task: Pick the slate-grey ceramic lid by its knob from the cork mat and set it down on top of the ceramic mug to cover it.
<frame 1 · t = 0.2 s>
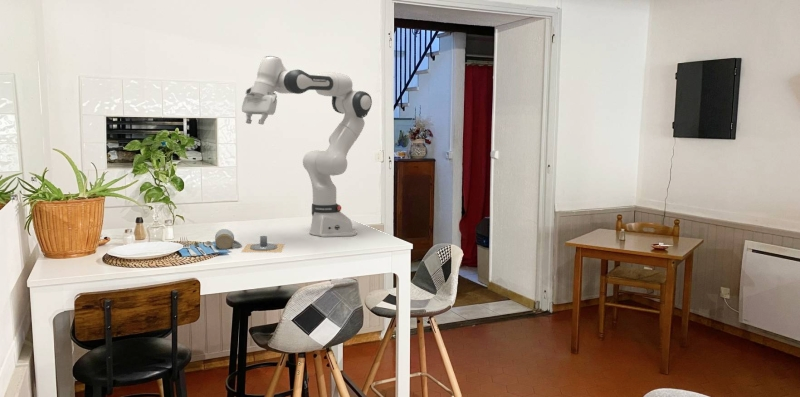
hand: (254, 123, 258), 52 cm above the table, tool tilted 20°, fingers open, 8 cm apart
lid: (263, 247, 255), point 1 cm above the table, touching mat
ceramic mug: (228, 249, 256), on the table
mat: (263, 249, 255), on the table
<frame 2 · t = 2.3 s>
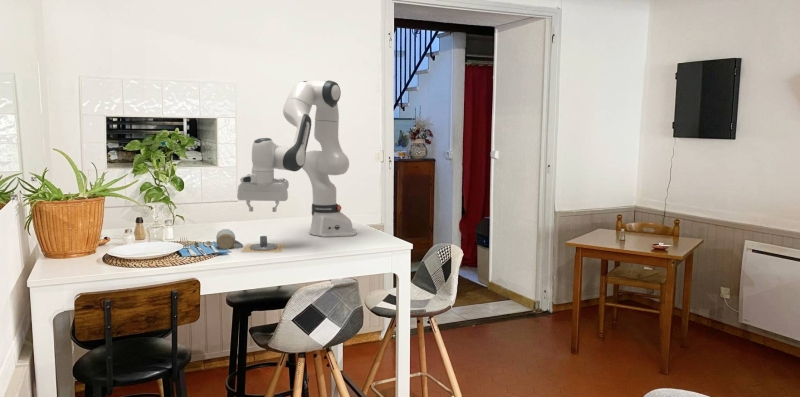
hand: (262, 211, 253), 16 cm above the table, tool pointing down, fingers open, 8 cm apart
nothing on the table moved.
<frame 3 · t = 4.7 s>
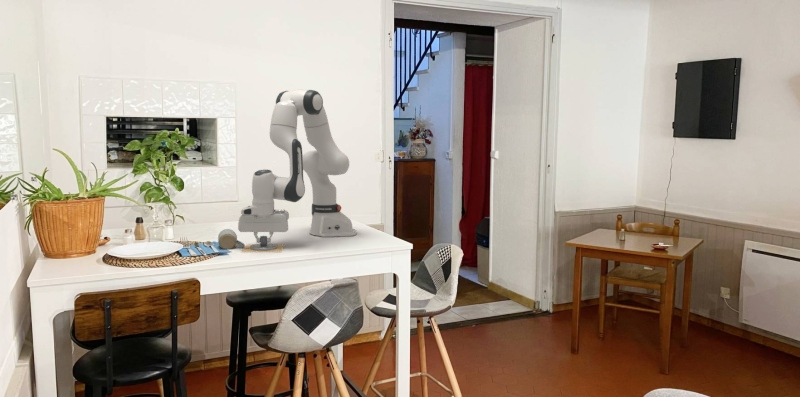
hand: (263, 242, 255), 3 cm above the table, tool pointing down, fingers closed on lid, 3 cm apart
lid: (263, 247, 255), point 1 cm above the table, touching gripper, mat
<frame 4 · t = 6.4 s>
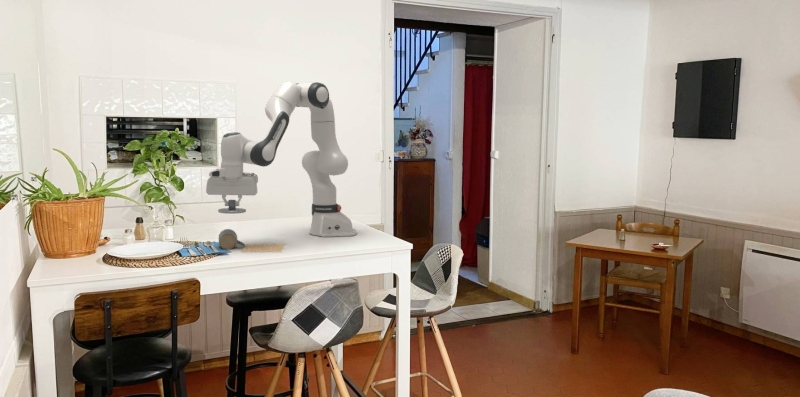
hand: (232, 205, 253), 18 cm above the table, tool pointing down, fingers closed on lid, 3 cm apart
lid: (232, 211, 253), point 16 cm above the table, touching gripper
ceramic mug: (231, 248, 256), on the table, touching mat
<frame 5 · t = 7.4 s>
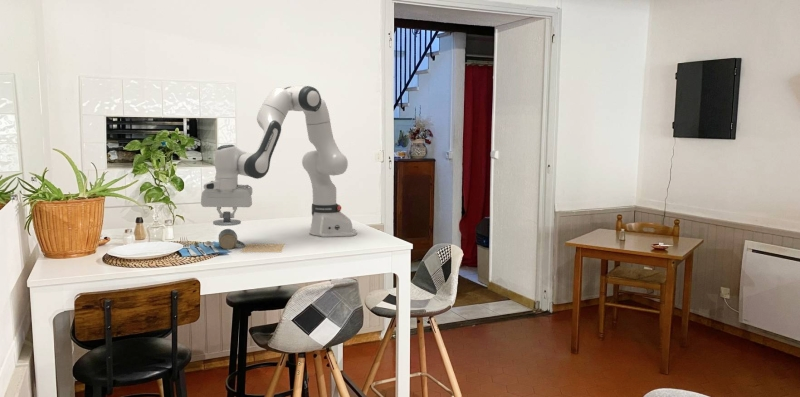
hand: (226, 217, 254), 13 cm above the table, tool pointing down, fingers closed on lid, 3 cm apart
lid: (227, 223, 254), point 11 cm above the table, touching gripper
everything else where it was.
when the fingers open (12 cm above the table, at t = 8.2 s): lid drops 2 cm, resting on ceramic mug.
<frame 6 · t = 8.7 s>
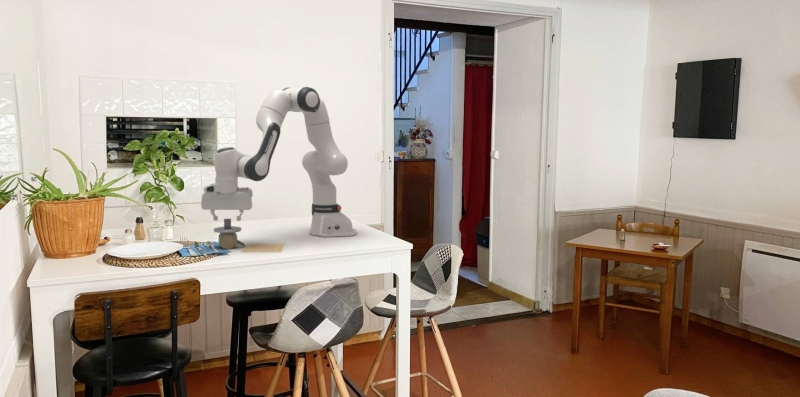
hand: (227, 220, 254), 12 cm above the table, tool pointing down, fingers open, 8 cm apart
lid: (227, 230, 255), point 8 cm above the table, touching ceramic mug
ceramic mug: (231, 248, 256), on the table, touching lid
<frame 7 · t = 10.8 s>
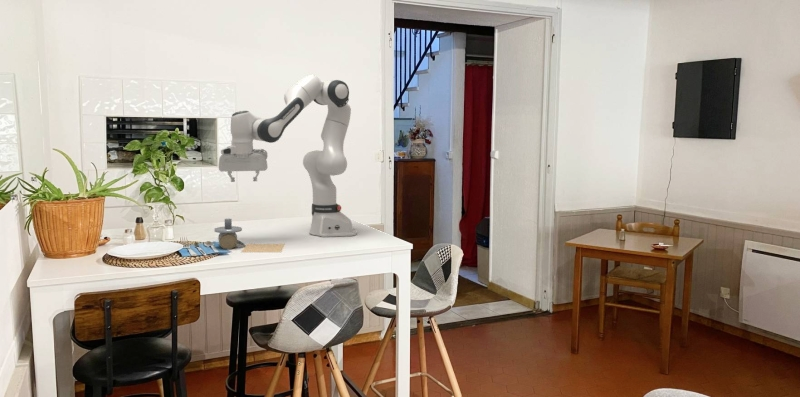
hand: (244, 181, 264), 27 cm above the table, tool pointing down, fingers open, 8 cm apart
nothing on the table moved.
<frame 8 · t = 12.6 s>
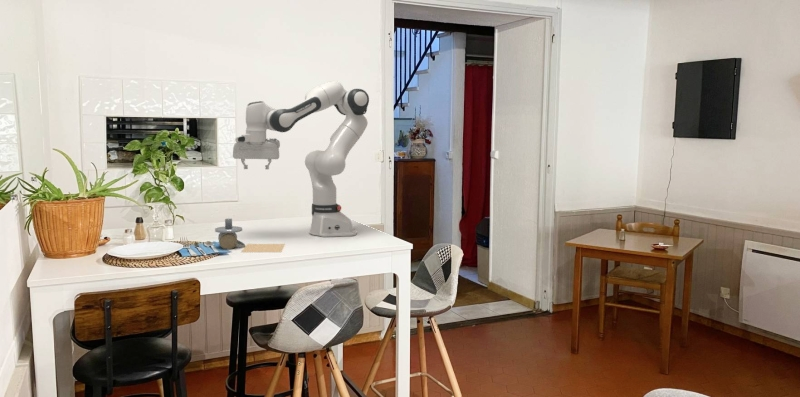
hand: (256, 169, 275), 31 cm above the table, tool pointing down, fingers open, 8 cm apart
nothing on the table moved.
at the end: lid 0.9 cm from the ceramic mug (horizontally); lid point 7.5 cm above the table; lid tilted 0° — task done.
